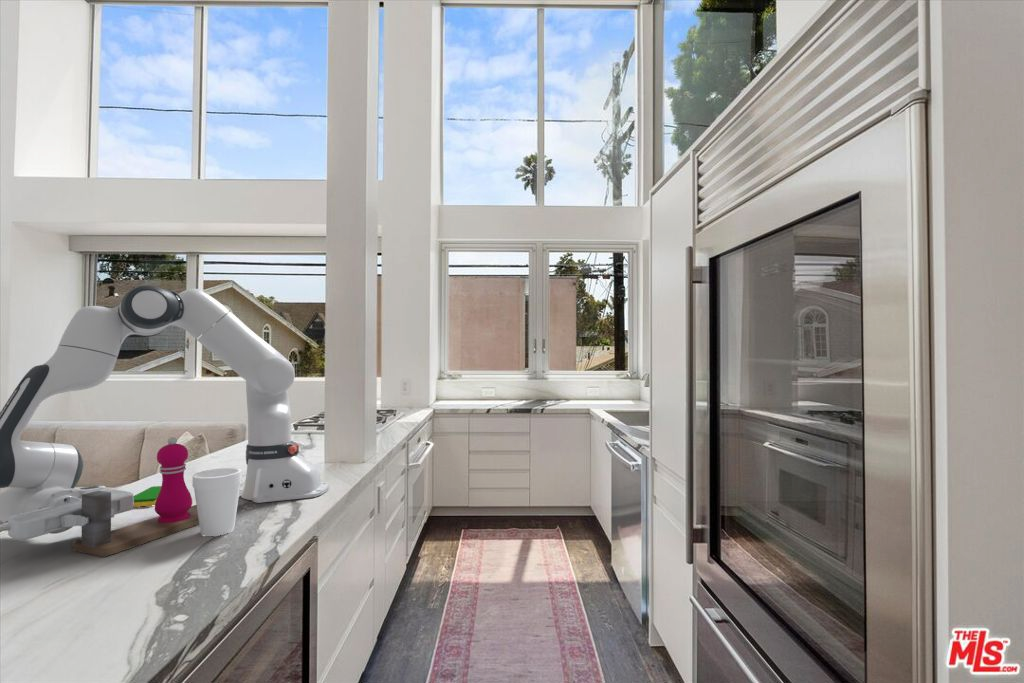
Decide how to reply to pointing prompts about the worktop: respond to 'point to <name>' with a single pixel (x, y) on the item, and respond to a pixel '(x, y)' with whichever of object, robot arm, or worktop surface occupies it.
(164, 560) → the worktop surface
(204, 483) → the foam cup
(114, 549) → the strip
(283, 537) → the worktop surface
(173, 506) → the pepper mill
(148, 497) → the dish sponge
